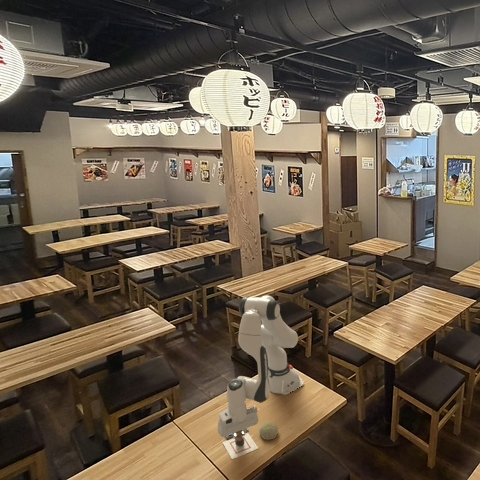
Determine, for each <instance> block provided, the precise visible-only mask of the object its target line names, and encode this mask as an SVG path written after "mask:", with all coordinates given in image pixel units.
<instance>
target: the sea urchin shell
mask: <svg viewBox="0 0 480 480" xmlns="http://www.w3.org/2000/svg"><path fill="white" fill-rule="evenodd" d="M258 431H259V435H260V436H261V438H262V439H264V440H268V441H269V440H274V439H275V438H276V437H277V436H278V433H279V431H278V426H276V425H275V424H273V423H270V422H267V423H264V424H263V425H262V426H261V427H260V428H259V430H258Z"/></svg>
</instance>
